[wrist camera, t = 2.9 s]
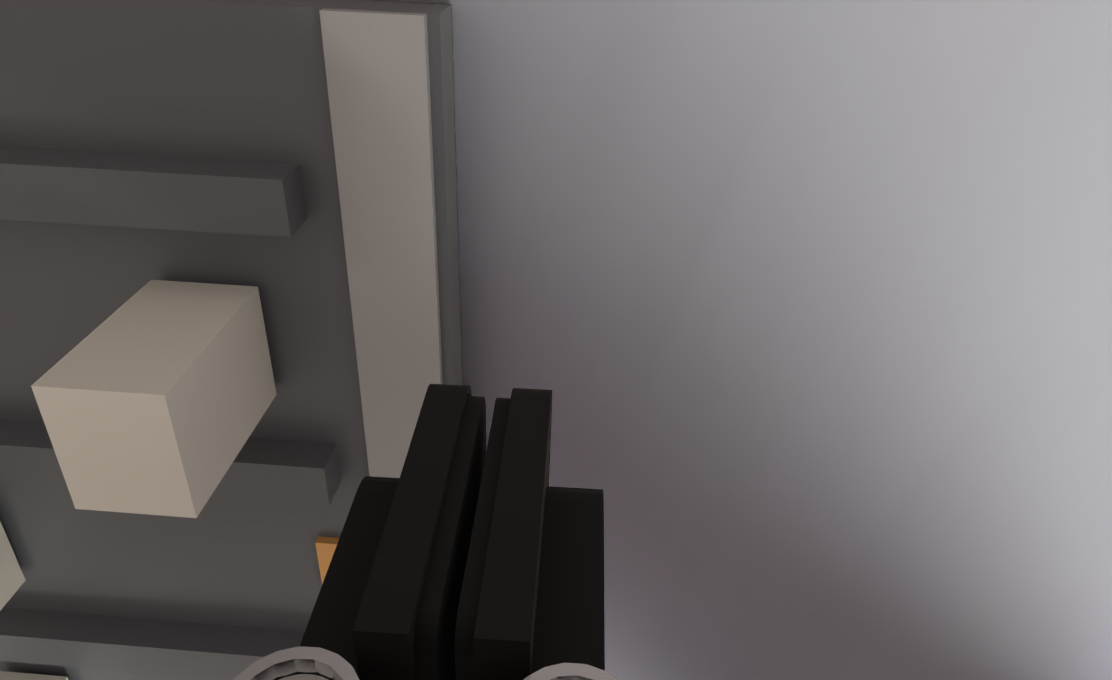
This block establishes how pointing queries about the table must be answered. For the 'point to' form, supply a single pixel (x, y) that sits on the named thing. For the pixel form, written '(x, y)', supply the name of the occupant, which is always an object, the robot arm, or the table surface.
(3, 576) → the tab
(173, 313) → the tab
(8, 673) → the tab
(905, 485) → the table surface
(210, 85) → the switch board
